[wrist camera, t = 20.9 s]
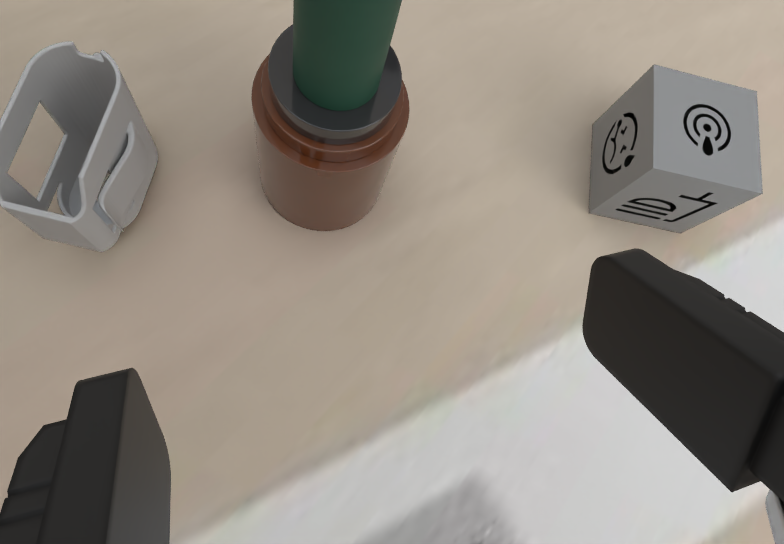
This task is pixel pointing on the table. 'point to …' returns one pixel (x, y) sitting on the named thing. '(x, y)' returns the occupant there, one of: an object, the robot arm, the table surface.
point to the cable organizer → (79, 148)
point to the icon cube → (675, 151)
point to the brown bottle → (324, 144)
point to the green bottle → (341, 49)
